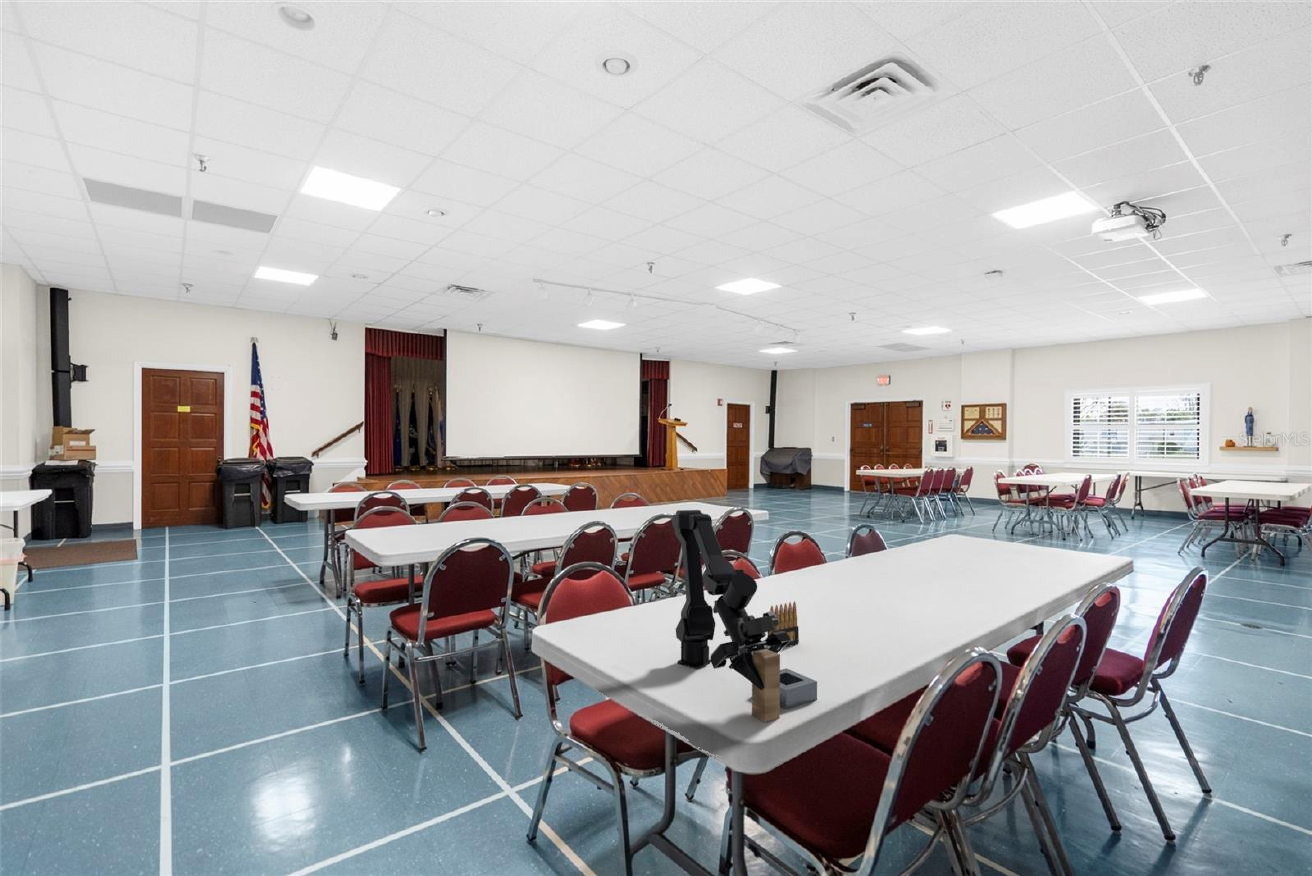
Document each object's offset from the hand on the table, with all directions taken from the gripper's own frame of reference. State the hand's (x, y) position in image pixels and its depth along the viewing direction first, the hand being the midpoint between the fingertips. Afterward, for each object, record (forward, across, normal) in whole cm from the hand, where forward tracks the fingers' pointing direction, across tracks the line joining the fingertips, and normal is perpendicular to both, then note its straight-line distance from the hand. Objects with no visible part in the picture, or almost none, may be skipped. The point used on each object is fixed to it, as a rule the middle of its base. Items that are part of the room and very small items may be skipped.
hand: (770, 686), depth 126 cm
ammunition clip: (-18, +36, +28) cm, 49 cm away
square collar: (0, +11, +9) cm, 14 cm away
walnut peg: (+4, 0, +6) cm, 7 cm away
